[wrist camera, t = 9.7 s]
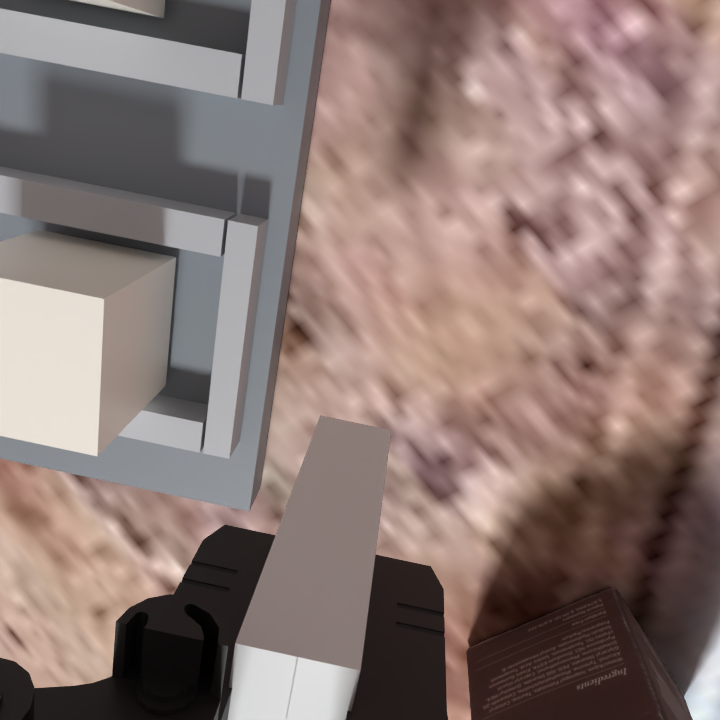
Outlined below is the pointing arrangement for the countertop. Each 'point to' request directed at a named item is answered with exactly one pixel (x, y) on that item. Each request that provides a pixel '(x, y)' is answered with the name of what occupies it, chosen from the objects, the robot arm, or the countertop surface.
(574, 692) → the box
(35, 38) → the grey compartment tray
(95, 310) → the tab
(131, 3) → the tab
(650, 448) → the countertop surface
